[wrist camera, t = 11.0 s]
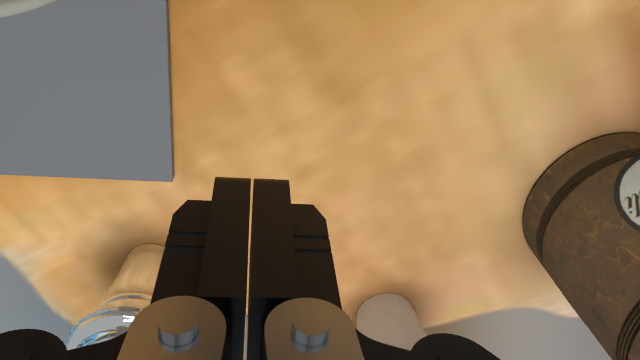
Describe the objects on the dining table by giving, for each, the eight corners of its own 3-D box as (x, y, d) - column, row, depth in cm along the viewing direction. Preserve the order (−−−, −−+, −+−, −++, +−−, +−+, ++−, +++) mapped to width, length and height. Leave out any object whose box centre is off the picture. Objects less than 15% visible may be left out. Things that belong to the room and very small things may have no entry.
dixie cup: (356, 276, 51) (376, 360, 42) (437, 289, 52) (472, 372, 44) (332, 339, 54) (345, 427, 46) (408, 348, 56) (434, 435, 48)
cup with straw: (85, 273, 47) (-16, 505, 30) (136, 204, 44) (56, 417, 27) (169, 313, 51) (121, 542, 33) (223, 250, 48) (200, 468, 30)
